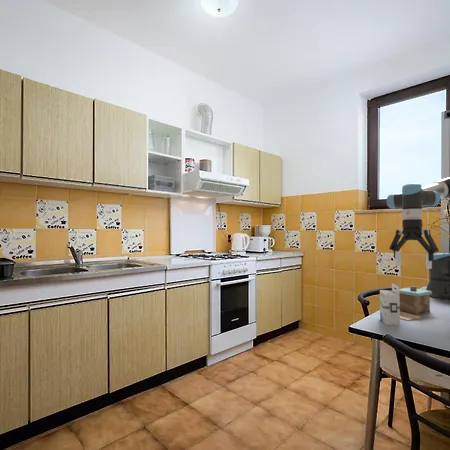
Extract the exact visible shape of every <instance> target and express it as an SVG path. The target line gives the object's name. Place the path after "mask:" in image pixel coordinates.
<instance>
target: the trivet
mask: <svg viewBox="0 0 450 450" xmlns="http://www.w3.org/2000/svg"><path fill="white" fill-rule="evenodd" d="M418 319H423V316H419V315H414V314H410V313H405V312H401V311H400V320H404V321H408V322H411V321H414V320H418Z"/></svg>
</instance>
